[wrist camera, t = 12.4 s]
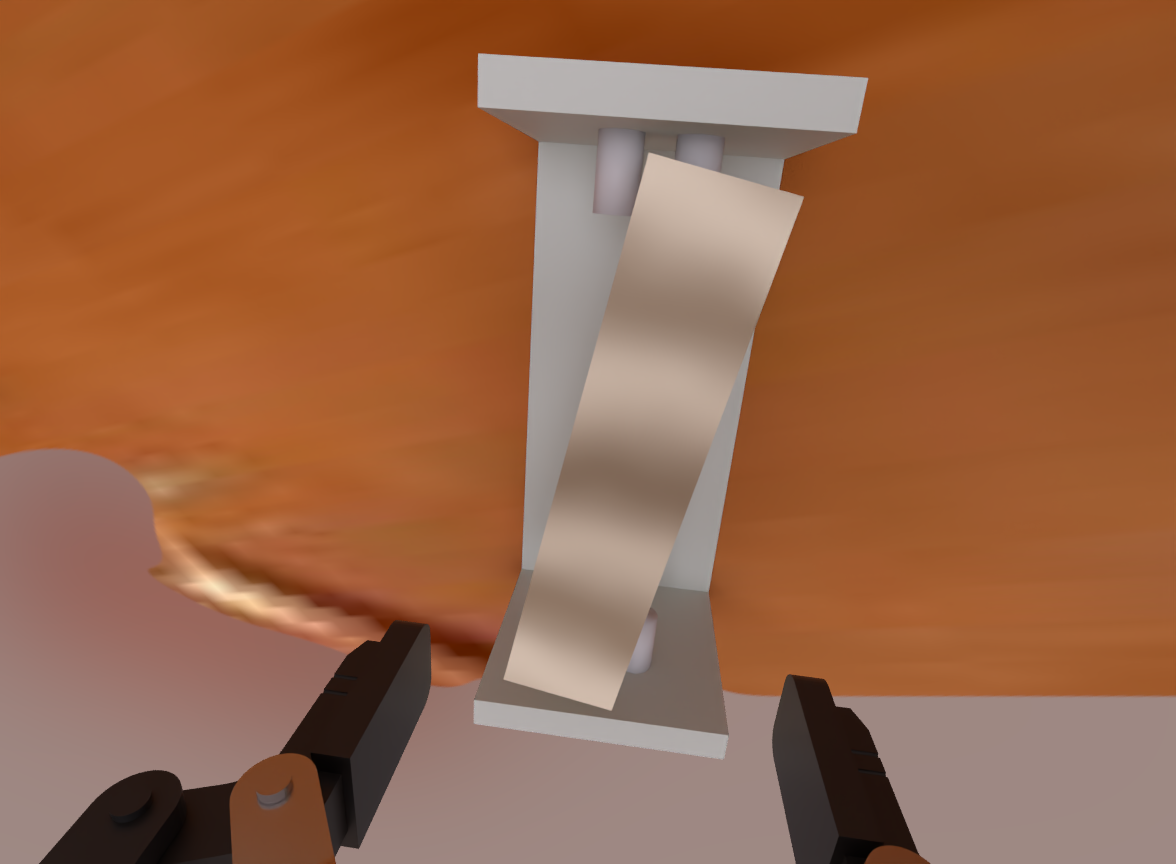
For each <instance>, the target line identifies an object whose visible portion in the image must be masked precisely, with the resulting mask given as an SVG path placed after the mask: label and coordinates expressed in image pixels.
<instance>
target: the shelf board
mask: <svg viewBox="0 0 1176 864" xmlns="http://www.w3.org/2000/svg"><path fill="white" fill-rule="evenodd" d="M803 198H804V197H803V196H799V195H796V194H792V193H789V192H785V191H782V190H778V189H775V188H771V187H768V186H764V185H761V184H757V183H754V182H750V181H747V180H743V179H740V178H736V177H733V176H729V175H726V174H723V173H719V172H716V171H712V170H709V169H705V168H702V167H698V166H695V165H691V164H688V163H684V162H681V161H677V160H674V159H670V158H667V157H663V156H660V155H656V154H653V153H649V154H648V157H647V161H646V165H645V168H644V172H643V176H642V179H641V183H640V186H639V190H638V194H637V197H636V201H635V205H634V208H633V212H632V215H631V219H630V223H629V226H628V230H627V234H626V237H625V241H624V244H623V248H622V252H621V255H620V259H619V263H618V266H617V270H616V273H615V277H614V281H613V284H612V288H611V292H610V295H609V299H608V302H607V306H606V310H605V313H604V317H603V321H602V324H601V328H600V331H599V335H598V339H597V342H596V346H595V350H594V353H593V357H592V360H591V364H590V368H589V371H588V375H587V379H586V382H585V386H584V389H583V393H582V397H581V400H580V404H579V408H578V411H577V415H576V418H575V422H574V426H573V429H572V433H571V437H570V440H569V444H568V447H567V451H566V455H565V458H564V462H563V466H562V469H561V473H560V476H559V480H558V484H557V487H556V491H555V495H554V498H553V502H552V505H551V509H550V513H549V516H548V520H547V524H546V527H545V531H544V534H543V538H542V542H541V545H540V549H539V553H538V556H537V560H536V563H535V567H534V571H533V574H532V578H531V582H530V585H529V589H528V592H527V596H526V600H525V603H524V607H523V611H522V614H521V618H520V621H519V625H518V629H517V632H516V636H515V640H514V643H513V647H512V650H511V654H510V658H509V661H508V665H507V669H506V672H505V676H504V679H503V680H507V681H510V682H514V683H517V684H521V685H524V686H528V687H531V688H535V689H538V690H541V691H545V692H548V693H552V694H555V695H559V696H562V697H566V698H569V699H573V700H576V701H579V702H583V703H586V704H590V705H593V706H597V707H600V708H604V709H607V710H610V711H612V708H613V705H614V703H615V700H616V697H617V695H618V692H619V689H620V687H621V684H622V681H623V679H624V676H625V673H626V671H627V668H628V665H629V663H630V660H631V657H632V655H633V652H634V649H635V647H636V644H637V641H638V639H639V636H640V633H641V631H642V628H643V625H644V623H645V620H646V617H647V615H648V612H649V609H650V607H651V604H652V601H653V599H654V596H655V593H656V591H657V588H658V585H659V583H660V580H661V577H662V575H663V572H664V569H665V567H666V564H667V561H668V559H669V556H670V553H671V551H672V548H673V545H674V543H675V540H676V537H677V535H678V532H679V529H680V527H681V524H682V521H683V519H684V516H685V513H686V511H687V508H688V505H689V503H690V500H691V497H692V495H693V492H694V489H695V487H696V484H697V481H698V479H699V476H700V473H701V471H702V468H703V465H704V463H705V460H706V457H707V455H708V452H709V449H710V447H711V444H712V441H713V439H714V436H715V433H716V431H717V428H718V425H719V423H720V420H721V417H722V415H723V412H724V409H725V407H726V404H727V401H728V399H729V396H730V393H731V391H732V388H733V385H734V383H735V380H736V377H737V375H738V372H739V369H740V367H741V364H742V361H743V359H744V356H745V353H746V351H747V348H748V345H749V343H750V340H751V337H752V335H753V332H754V329H755V327H756V324H757V321H758V319H759V316H760V313H761V311H762V308H763V305H764V303H765V300H766V297H767V294H768V292H769V289H770V286H771V284H772V281H773V278H774V276H775V273H776V270H777V268H778V265H779V262H780V260H781V257H782V254H783V252H784V249H785V246H786V244H787V241H788V238H789V236H790V233H791V230H792V228H793V225H794V222H795V220H796V217H797V214H798V212H799V209H800V206H801V204H802V201H803Z"/></svg>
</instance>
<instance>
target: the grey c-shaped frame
mask: <svg viewBox="0 0 1176 864" xmlns="http://www.w3.org/2000/svg"><path fill="white" fill-rule="evenodd" d="M867 81H868V78H861V77H845V76H829V75H813V74H797V73H781V72H765V71H749V70H733V69H717V68H701V67H685V66H669V65H653V64H637V63H621V62H605V61H589V60H573V59H557V58H541V57H525V56H509V55H493V54H478V108H480V109H482V110H484V111H486V112H487V113H489V114H491V115H493V116H494V117H496V118H498V119H500V120H502V121H503V122H505V123H507V124H509V125H510V126H512V127H514V128H516V129H517V130H519V131H521V132H523V133H525V134H526V135H528V136H530V137H532V138H533V139H535V140H537V141H539V150H538V175H537V200H536V225H535V250H534V275H533V300H532V325H531V351H530V376H529V401H528V426H527V451H526V476H525V501H524V526H523V551H522V570H521V573H520V575H519V578H518V581H517V583H516V586H515V589H514V592H513V594H512V597H511V600H510V603H509V605H508V608H507V611H506V614H505V616H504V619H503V622H502V625H501V627H500V630H499V633H498V635H497V638H496V641H495V644H494V646H493V649H492V652H491V655H490V657H489V660H488V663H487V666H486V668H485V671H484V674H483V677H482V679H481V682H480V685H479V688H478V690H477V693H476V696H475V698H474V724H480V725H487V726H494V727H501V728H508V729H515V730H523V731H529V732H536V733H543V734H550V735H557V736H564V737H571V738H578V739H586V740H592V741H599V742H606V743H613V744H620V745H628V746H634V747H641V748H648V749H655V750H662V751H669V752H676V753H683V754H690V755H697V756H704V757H711V758H718V759H724V756H725V751H726V746H727V742H728V737H729V733H728V727H727V720H726V712H725V706H724V698H723V691H722V684H721V677H720V670H719V663H718V655H717V648H716V641H715V634H714V627H713V620H712V613H711V606H710V599H709V587H710V581H711V575H712V570H713V564H714V558H715V552H716V547H717V541H718V535H719V530H720V524H721V518H722V513H723V507H724V501H725V495H726V490H727V484H728V478H729V473H730V467H731V461H732V456H733V450H734V444H735V438H736V433H737V427H738V421H739V416H740V410H741V404H742V399H743V393H744V387H745V381H746V376H747V370H748V364H749V359H750V353H751V347H752V342H753V336H754V332H753V335H752V337H751V340H750V343H749V345H748V348H747V351H746V353H745V356H744V359H743V361H742V364H741V367H740V369H739V372H738V375H737V377H736V380H735V383H734V385H733V388H732V391H731V393H730V396H729V399H728V401H727V404H726V407H725V409H724V412H723V415H722V417H721V420H720V423H719V425H718V428H717V431H716V433H715V436H714V439H713V441H712V444H711V447H710V449H709V452H708V455H707V457H706V460H705V463H704V465H703V468H702V471H701V473H700V476H699V479H698V481H697V484H696V487H695V489H694V492H693V495H692V497H691V500H690V503H689V505H688V508H687V511H686V513H685V516H684V519H683V521H682V524H681V527H680V529H679V532H678V535H677V537H676V540H675V543H674V545H673V548H672V551H671V553H670V556H669V559H668V561H667V564H666V567H665V569H664V572H663V575H662V577H661V580H660V583H659V585H658V588H657V591H656V593H655V596H654V599H653V601H652V604H651V607H650V609H649V612H648V615H647V617H646V620H645V623H644V625H643V628H642V631H641V633H640V636H639V639H638V641H637V644H636V647H635V649H634V652H633V655H632V657H631V660H630V663H629V665H628V668H627V671H626V673H625V676H624V679H623V681H622V684H621V687H620V689H619V692H618V695H617V697H616V700H615V703H614V705H613V708H612V711H610V710H607V709H604V708H600V707H597V706H593V705H590V704H586V703H583V702H579V701H576V700H573V699H569V698H566V697H562V696H559V695H555V694H552V693H548V692H545V691H541V690H538V689H535V688H531V687H528V686H524V685H521V684H517V683H514V682H510V681H507V680H503V679H504V676H505V672H506V669H507V665H508V661H509V658H510V654H511V650H512V647H513V643H514V640H515V636H516V632H517V629H518V625H519V621H520V618H521V614H522V611H523V607H524V603H525V600H526V596H527V592H528V589H529V585H530V582H531V578H532V574H533V571H534V567H535V563H536V560H537V556H538V553H539V549H540V545H541V542H542V538H543V534H544V531H545V527H546V524H547V520H548V516H549V513H550V509H551V505H552V502H553V498H554V495H555V491H556V487H557V484H558V480H559V476H560V473H561V469H562V466H563V462H564V458H565V455H566V451H567V447H568V444H569V440H570V437H571V433H572V429H573V426H574V422H575V418H576V415H577V411H578V408H579V404H580V400H581V397H582V393H583V389H584V386H585V382H586V379H587V375H588V371H589V368H590V364H591V360H592V357H593V353H594V350H595V346H596V342H597V339H598V335H599V331H600V328H601V324H602V321H603V317H604V313H605V310H606V306H607V302H608V299H609V295H610V292H611V288H612V284H613V281H614V277H615V273H616V270H617V266H618V263H619V259H620V255H621V252H622V248H623V244H624V241H625V237H626V234H627V230H628V226H629V223H630V219H631V215H632V212H633V208H634V205H635V201H636V197H637V194H638V190H639V186H640V183H641V179H642V176H643V172H644V168H645V165H646V161H647V157H648V154H649V153H653V154H656V155H660V156H663V157H667V158H670V159H674V160H677V161H681V162H684V163H688V164H691V165H695V166H698V167H702V168H705V169H709V170H712V171H716V172H719V173H723V174H726V175H729V176H733V177H736V178H740V179H743V180H747V181H750V182H754V183H757V184H761V185H764V186H768V187H771V188H775V189H778V190H779V188H780V182H781V176H782V170H783V165H784V159H787V158H790V157H792V156H795V155H798V154H801V153H803V152H806V151H809V150H812V149H814V148H817V147H820V146H823V145H825V144H828V143H831V142H834V141H836V140H839V139H842V138H845V137H847V136H850V135H853V134H856V133H857V128H858V124H859V119H860V114H861V109H862V105H863V100H864V95H865V91H866V86H867ZM754 330H755V329H754Z"/></svg>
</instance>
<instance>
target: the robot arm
mask: <svg viewBox="0 0 1176 864" xmlns="http://www.w3.org/2000/svg"><path fill="white" fill-rule="evenodd" d="M430 685H431V646H430V627H429V625H428V624H422V623H415V622H408V621H400V620H395V621H394V622H393V623H392V624H391V626H390V627H389V629H388V630H387V632H386V634H385V635H384V637H383V638H382V640H381V641H380V642H376V641H369V640H367V641H366V642H364V643H363V644H362V645H360V646H359V647H358V648H356V649H355V650H354V651H352V652H351V653H350V654H348V655H347V656H346V658H345V659H344V661H343V662H342V664H341V665H340V667H339V668H338V670H337V671H336V673H335V675H334V678H331V680H330V681H329V683H328V684H327V686H326V687H325V688H324V692H323V693H321V694H320V696H319V697H318V699H317V700H316V702H315V703H314V704H313V706H312V707H311V709H310V710H309V712H308V713H307V715H306V716H305V718H304V719H303V721H302V722H301V724H300V725H299V726H298V728H297V729H296V731H295V732H294V734H293V735H292V737H291V738H290V740H289V741H288V742H287V744H286V745H285V747H284V748H283V750H282V751H281V752H280V754H279V755H275V756H272V757H269V758H267V759H265V760H263V761H261V762H259V763H257V764H256V765H254V766H253V767H251V768H250V769H249V770H248V771H247V772H245V773H244V774H243V776H242V777H241V778H240V779H239V780H238V781H236V782H233V783H228V784H223V785H216V786H209V787H203V788H196V789H189V790H182V786H181V783H180V780H179V779H178V777H176V776H175V775H174V774H172V773H170V772H167V771H162V770H153V771H147V772H142V773H138V774H135V775H132V776H130V777H128V778H126V779H123V780H121V781H119V782H118V783H116V784H114V785H113V786H111V787H110V788H108V789H107V790H106V791H105V792H103V793H102V794H101V795H100V796H99V797H97V798H96V799H95V801H94V802H93V803H92V804H91V805H90V806H89V807H88V808H87V809H86V811H85V812H84V813H83V814H82V815H81V817H79V819H78V820H77V821H76V822H75V823H74V824H73V826H72V827H71V828H70V829H69V830H68V831H67V832H66V833H65V835H64V836H63V837H62V838H61V839H60V840H59V841H58V843H57V844H56V845H55V846H54V847H53V848H52V850H51V851H50V852H49V853H48V854H47V855H46V856H45V858H44V859H43V860H42V861H41V862H40V863H39V864H336V862H335V856H336V854H337V852H338V850H339V848H340V846H345V847H352V848H358V849H359V847H360V845H361V843H362V840H363V839H364V836H365V834H366V832H367V830H368V828H369V826H370V823H371V821H372V819H373V817H374V815H375V813H376V810H377V808H378V806H379V804H380V802H381V799H382V797H383V795H384V793H385V791H386V789H387V787H388V784H389V782H390V780H391V778H392V776H393V774H394V771H395V769H396V767H397V765H398V763H399V760H400V758H401V756H402V754H403V752H404V750H405V747H406V745H407V743H408V741H409V739H410V737H411V735H412V733H413V730H414V728H415V726H416V724H417V722H418V719H419V717H420V715H421V713H422V711H423V709H424V706H425V704H426V701H427V698H428V694H429V690H430ZM772 744H773V757H774V762H775V767H776V771H777V776H778V781H779V786H780V790H781V795H782V800H783V804H784V809H785V814H786V819H787V824H788V828H789V833H790V838H791V843H792V847H793V852H794V857H795V861H796V864H930V863H929V862H927V861H926V860H925V859H924V858H922V857H921V856H920V855H919V853H918V852H917V849H916V846H915V844H914V842H913V839H912V836H911V834H910V832H909V829H908V827H907V824H906V822H905V819H904V817H903V814H902V812H901V809H900V807H899V804H898V802H897V799H896V797H895V794H894V792H893V789H892V787H891V784H890V782H889V779H888V778H887V777H886V775H885V774H886V772H885V770H884V767H883V764H882V762H881V760H880V758H878V752H877V750H876V747H875V745H874V742H873V740H872V737H871V735H870V732H869V730H868V729H867V727H866V726H865V725H864V724H863V723H862V722H861V720H860V719H859V718H858V717H857V716H856V714H855V713H854V712H853V711H852V710H851V709H850V708H843V707H836V706H835V704H834V701H833V698H832V695H831V692H830V689H829V686H828V684H827V682H826V681H825V680H824V679H820V678H812V677H805V676H798V675H788V676H787V677H786V680H785V683H784V687H783V691H782V695H781V699H780V703H779V707H778V711H777V715H776V719H775V723H774V728H773V739H772Z"/></svg>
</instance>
